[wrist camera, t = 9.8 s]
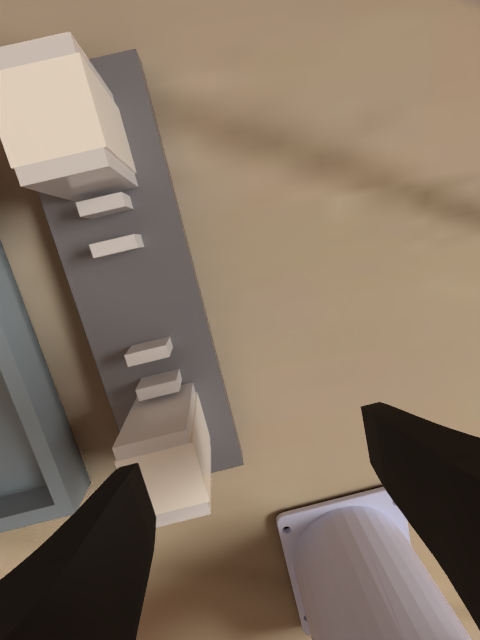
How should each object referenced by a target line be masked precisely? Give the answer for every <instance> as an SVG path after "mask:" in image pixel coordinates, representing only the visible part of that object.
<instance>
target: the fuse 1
mask: <svg viewBox="0 0 480 640" xmlns="http://www.w3.org/2000/svg"><path fill="white" fill-rule="evenodd" d="M0 138H1V141H2V144H3V147H4V150H5V153H6V155H7V158H8V161H9V164H10V167H11V169H14V170H15V172H16V175H17V178H18V180H19V183H20V186H21V187H24V188H27V189H31V190H35V191H38V192H42V193H45V194H49V195H53V196H56V197H60V198H63V199H67V200H71V201H74V202H77V201H81V200H85V199H89V198H94V197H98V196H102V195H107V194H111V193H115V192H119V191H124V190H128V189H132V188H137V187H138V184H137V180H136V177H135V174H136V173H137V172H136V169H135V165H134V161H133V158H132V154H131V151H130V147H129V143H128V140H127V136H126V133H125V129H124V125H123V122H122V118H121V115H120V111H119V108H118V106H117V105H116V104H115V102H114V98H113V94H112V93H111V91H110V90H109V88H108V87H107V85H106V84H105V82H104V81H103V80H102V78H101V77H100V75H99V74H98V72H97V71H96V69H95V68H94V66H93V65H92V63H91V62H90V61H89V59H88V58H87V56H86V55H85V53H84V52H83V50H82V49H81V47H80V46H79V44H78V43H77V42H76V40H75V39H74V37H73V36H72V34H71V33H70V32H65V33H61V34H56V35H52V36H47V37H43V38H38V39H34V40H29V41H25V42H20V43H16V44H11V45H7V46H3V47H0Z"/></svg>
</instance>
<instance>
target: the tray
mask: <svg viewBox="0 0 480 640" xmlns="http://www.w3.org/2000/svg"><path fill="white" fill-rule="evenodd" d="M90 483H91V482H90V480H89V477H88V474H87V471H86V469H85V466H84V463H83V461H82V458H81V455H80V453H79V450H78V447H77V445H76V442H75V439H74V437H73V434H72V431H71V429H70V426H69V423H68V420H67V418H66V415H65V412H64V410H63V407H62V404H61V402H60V399H59V396H58V394H57V391H56V388H55V386H54V383H53V380H52V378H51V375H50V372H49V369H48V367H47V364H46V361H45V359H44V356H43V353H42V351H41V348H40V345H39V343H38V340H37V337H36V335H35V332H34V329H33V327H32V324H31V321H30V318H29V316H28V313H27V310H26V308H25V305H24V302H23V300H22V297H21V294H20V292H19V289H18V286H17V284H16V281H15V278H14V276H13V273H12V270H11V267H10V265H9V262H8V259H7V257H6V254H5V251H4V249H3V246H2V243H1V241H0V533H1V532H5V531H9V530H13V529H17V528H21V527H25V526H29V525H33V524H37V523H41V522H45V521H49V520H53V519H57V518H61V517H65V516H69V515H73V514H74V513H75V512H76V511H77V509H78V507H79V505H80V503H81V501H82V499H83V497H84V495H85V493H86V491H87V489H88V487H89V485H90Z"/></svg>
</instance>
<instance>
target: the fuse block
mask: <svg viewBox="0 0 480 640" xmlns="http://www.w3.org/2000/svg"><path fill="white" fill-rule="evenodd" d="M89 61H90V62H91V63H92V65H93V66H94V68H95V69H96V71H97V72H98V74H99V75H100V77H101V78H102V80H103V81H104V82H105V84H106V85H107V87H108V88H109V90H110V91H111V93H112V94H113V98H114V102H115V104H116V105H117V106H118V108H119V111H120V115H121V118H122V122H123V125H124V129H125V133H126V136H127V140H128V143H129V147H130V151H131V154H132V158H133V161H134V165H135V169H136V172H137V173H136V174H135V177H136V180H137V184H138V187H137V188H132V189H128V190H124V191H119V192H115V193H111V194H107V195H102V196H98V197H94V198H89V199H85V200H81V201H77V202H74V201H71V200H67V199H63V198H60V197H56V196H53V195H49V194H45V193H42V192H38V194H39V197H40V200H41V203H42V206H43V209H44V212H45V215H46V218H47V221H48V224H49V227H50V230H51V233H52V236H53V238H54V241H55V244H56V247H57V250H58V253H59V256H60V259H61V262H62V265H63V268H64V271H65V274H66V277H67V280H68V283H69V286H70V288H71V291H72V294H73V297H74V300H75V303H76V306H77V309H78V312H79V315H80V318H81V321H82V324H83V327H84V330H85V333H86V336H87V339H88V341H89V344H90V347H91V350H92V353H93V356H94V359H95V362H96V365H97V368H98V371H99V374H100V377H101V380H102V383H103V386H104V389H105V392H106V394H107V397H108V400H109V403H110V406H111V409H112V412H113V415H114V418H115V421H116V424H117V427H118V430H119V433H120V431H121V429H122V426H123V424H124V422H125V420H126V418H127V416H128V414H129V412H130V410H131V408H132V406H133V404H134V401H135V399H136V397H138V400H139V401H143V400H147V399H151V398H155V397H159V396H163V395H167V394H171V393H175V392H179V391H180V387H181V385H183V384H187V383H191V382H193V385H194V388H195V392H198V396H199V399H200V403H201V406H202V410H203V414H204V417H205V421H206V424H207V428H208V432H209V435H210V446H211V473H213V472H217V471H221V470H225V469H229V468H233V467H237V466H241V465H244V464H243V457H242V451H241V447H240V443H239V439H238V435H237V432H236V428H235V424H234V420H233V416H232V412H231V408H230V405H229V401H228V397H227V393H226V389H225V385H224V381H223V377H222V374H221V370H220V366H219V362H218V358H217V354H216V350H215V346H214V343H213V339H212V335H211V331H210V327H209V323H208V319H207V315H206V312H205V308H204V304H203V300H202V296H201V292H200V288H199V284H198V281H197V277H196V273H195V269H194V265H193V261H192V257H191V254H190V250H189V246H188V242H187V238H186V234H185V230H184V226H183V223H182V219H181V215H180V211H179V207H178V203H177V199H176V195H175V192H174V188H173V184H172V180H171V176H170V172H169V168H168V164H167V161H166V157H165V153H164V149H163V145H162V141H161V137H160V134H159V130H158V126H157V122H156V118H155V114H154V110H153V106H152V103H151V99H150V95H149V91H148V87H147V83H146V79H145V75H144V72H143V68H142V64H141V61H140V58H139V56H138V53H137V51H136V49H133V50H128V51H124V52H119V53H115V54H110V55H106V56H102V57H97V58H93V59H89Z"/></svg>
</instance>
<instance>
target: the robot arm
mask: <svg viewBox="0 0 480 640" xmlns="http://www.w3.org/2000/svg"><path fill="white" fill-rule="evenodd" d="M361 410H362V416H363V422H364V428H365V434H366V440H367V445H368V451H369V457H370V463H371V465H372V467H373V468H374V470H375V472H376V474H377V476H378V478H379V479H380V481H381V483H382V485H383V486H384V487H380V488H376V489H372V490H368V491H364V492H360V493H357V494H353V495H349V496H345V497H341V498H337V499H333V500H329V501H325V502H321V503H317V504H314V505H310V506H306V507H302V508H298V509H294V510H290V511H286V512H282V513H280V514H279V515H278V516H277V518H276V523H277V527H278V531H279V535H280V539H281V543H282V547H283V552H284V556H285V560H286V564H287V568H288V572H289V576H290V580H291V584H292V588H293V592H294V596H295V600H296V604H297V608H298V612H299V617H300V621H301V625H302V629H303V632H304V633H305V634H308V635H311V638H312V640H472V639H471V637H470V635H469V634H468V632H467V631H466V629H465V628H464V626H463V625H462V623H461V622H460V620H459V619H458V617H457V615H456V614H455V612H454V611H453V609H452V608H451V606H450V605H449V603H448V602H447V600H446V599H445V597H444V595H443V594H442V592H441V591H440V589H439V588H438V586H437V585H436V583H435V582H434V580H433V579H432V577H431V576H430V574H429V572H428V571H427V569H426V568H425V566H424V565H423V563H422V562H421V560H420V559H419V557H418V556H417V554H416V552H415V551H414V549H413V548H412V546H411V543H410V536H409V530H408V523H407V520H408V522H409V523H410V524H411V526H412V527H413V528H414V530H415V531H416V533H417V534H418V535H419V537H420V538H421V539H422V541H423V542H424V543H425V545H426V546H427V547H428V549H429V550H430V551H431V553H432V554H433V556H434V557H435V558H436V560H437V561H438V563H439V564H440V566H441V567H442V569H443V570H444V572H445V573H446V575H447V577H448V578H449V580H450V581H451V583H452V585H453V586H454V588H455V590H456V591H457V593H458V595H459V596H460V598H461V600H462V601H463V603H464V604H465V606H466V608H467V609H468V611H469V613H470V615H471V616H472V618H473V620H474V621H475V623H476V625H477V626H478V628H479V630H480V438H479V437H475V436H472V435H469V434H466V433H463V432H459V431H456V430H453V429H450V428H447V427H444V426H442V425H439V424H436V423H433V422H431V421H428V420H425V419H423V418H420V417H418V416H415V415H413V414H410V413H408V412H405V411H403V410H400V409H398V408H395V407H393V406H390V405H387V404H384V403H381V402H378V403H374V404H370V405H366V406H362V407H361ZM284 527H288V528H287V529H283V528H284ZM155 531H156V514H155V511H154V508H153V505H152V502H151V499H150V496H149V494H148V491H147V488H146V485H145V482H144V479H143V476H142V473H141V470H140V467H139V464H138V463H134V464H130V465H126V466H122V467H119V468H118V469H117V470H115V471H114V472H113V473H112V474H111V475H110V476H109V477H108V478H107V479H106V480H105V481H104V482H103V484H102V485H101V486H100V487H99V488H98V489H97V490H96V491H95V492H94V493H93V494H92V495H91V496H90V497H89V498H88V499H87V500H86V502H85V503H84V504H83V505H82V506H81V507H80V508H79V509H78V510H77V511H76V512H75V513H74V514H73V515H72V516H71V517H70V518H69V519H68V520H67V521H66V522H65V523H64V524H63V525H62V526H61V527H60V528H59V529H58V530H57V531H56V532H55V533H54V534H53V535H52V536H51V537H50V538H49V539H48V540H46V541H45V542H44V543H43V544H42V545H41V546H40V547H39V548H38V549H37V550H35V551H34V552H33V553H32V554H31V555H30V556H29V557H27V558H26V559H25V560H24V561H23V562H21V563H20V564H19V565H18V566H17V567H16V568H14V569H13V570H12V571H11V572H10V573H8V574H7V575H6V576H5V577H3V578H2V579H1V580H0V640H136V635H137V630H138V625H139V620H140V616H141V611H142V606H143V601H144V597H145V592H146V587H147V582H148V577H149V572H150V568H151V563H152V557H153V552H154V543H155Z"/></svg>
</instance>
